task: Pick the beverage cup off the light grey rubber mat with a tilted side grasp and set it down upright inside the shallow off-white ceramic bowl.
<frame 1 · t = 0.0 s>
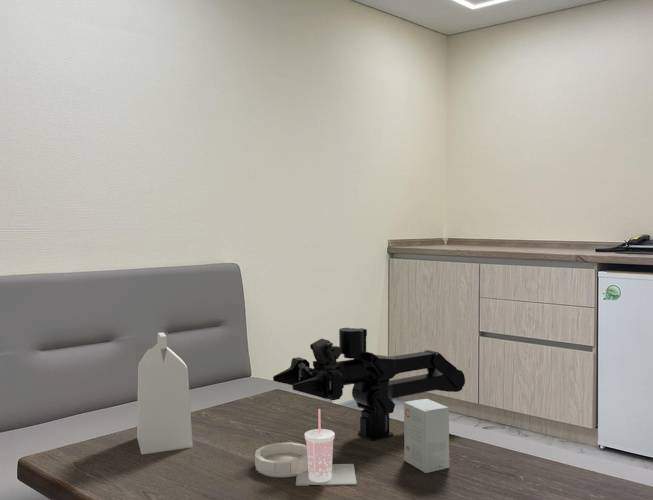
hand: (282, 382, 135), 17 cm above the table, tool horizontal, fingers open, 9 cm apart
mat: (325, 475, 125), on the table
small box: (426, 465, 130), on the table
beverage cup: (320, 478, 123), resting on mat
milk: (164, 443, 146), on the table
bowl: (283, 466, 130), on the table
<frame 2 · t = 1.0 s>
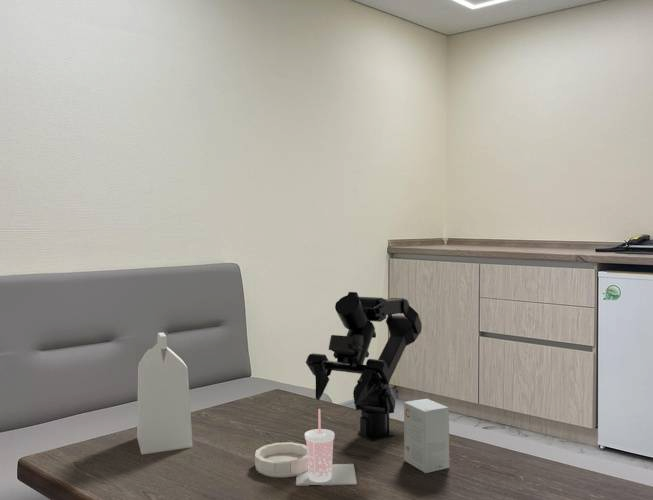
hand: (335, 401, 130), 14 cm above the table, tool tilted 45°, fingers open, 9 cm apart
nothing on the table moved.
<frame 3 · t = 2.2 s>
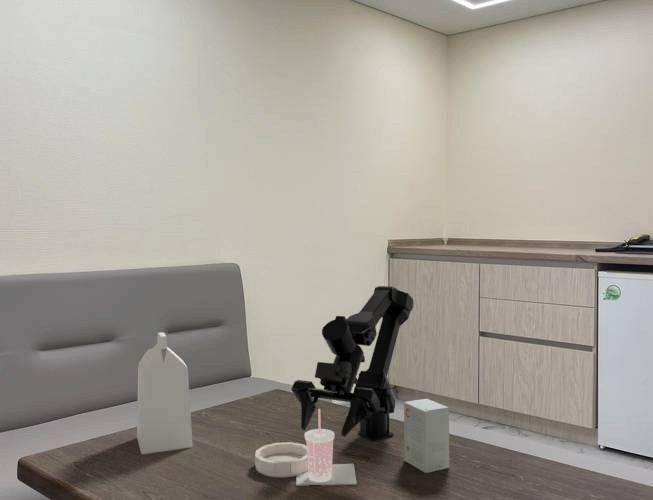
hand: (322, 432, 124), 9 cm above the table, tool tilted 45°, fingers open, 9 cm apart
nothing on the table moved.
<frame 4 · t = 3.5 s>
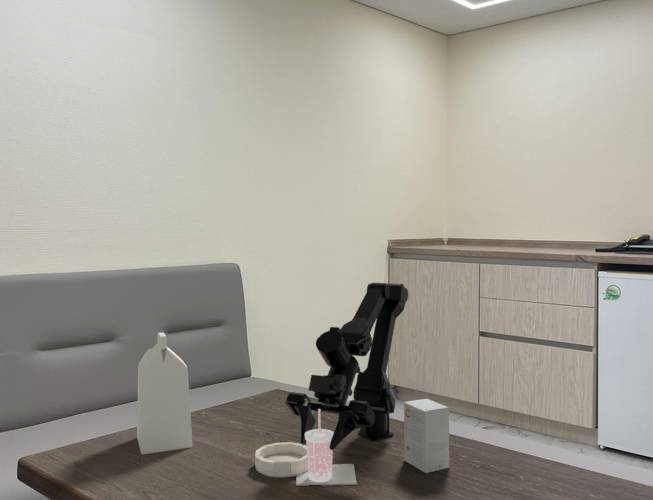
hand: (316, 446, 122), 7 cm above the table, tool tilted 45°, fingers closed on beverage cup, 6 cm apart
beverage cup: (320, 478, 123), resting on mat, touching gripper
everything else where it was.
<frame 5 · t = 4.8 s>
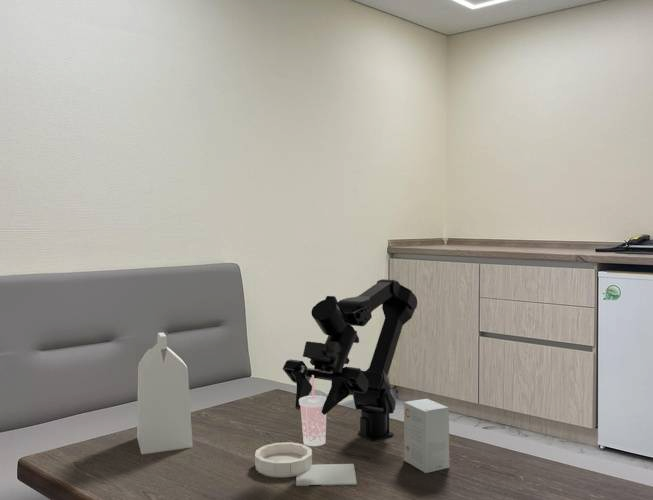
hand: (309, 411, 125), 13 cm above the table, tool tilted 45°, fingers closed on beverage cup, 6 cm apart
beverage cup: (314, 443, 126), point 6 cm above the table, touching gripper
everything else where it was.
when the fingers open (9 cm above the table, at t = 6.4 s): beverage cup drops 1 cm, resting on bowl.
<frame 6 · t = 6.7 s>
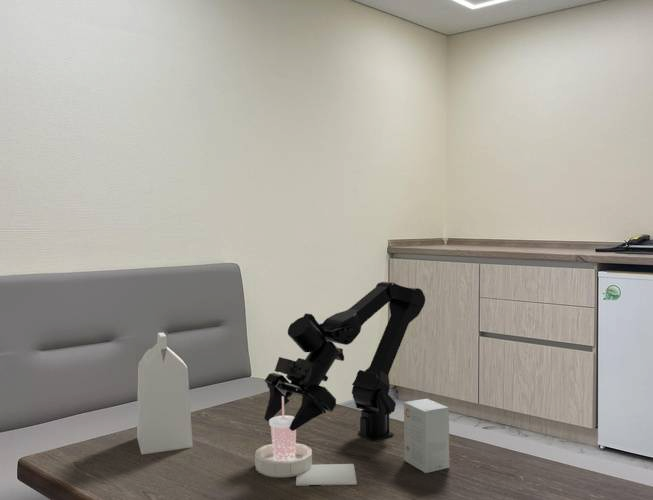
hand: (278, 424, 129), 9 cm above the table, tool tilted 45°, fingers open, 8 cm apart
beverage cup: (284, 462, 130), point 1 cm above the table, touching bowl
everything else where it was.
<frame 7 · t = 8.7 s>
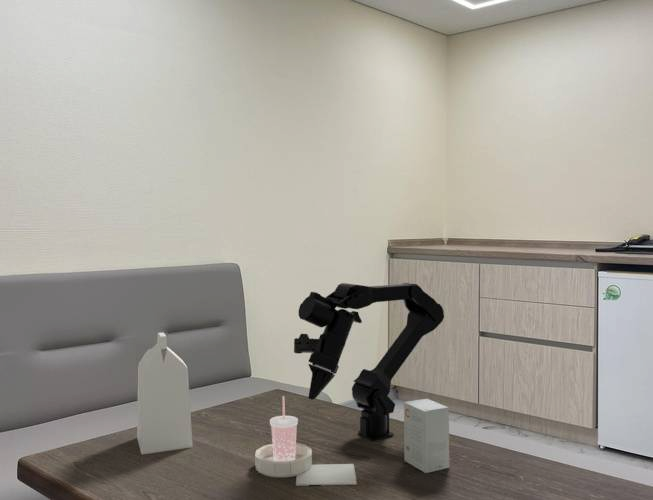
hand: (311, 398, 139), 12 cm above the table, tool tilted 25°, fingers open, 9 cm apart
nothing on the table moved.
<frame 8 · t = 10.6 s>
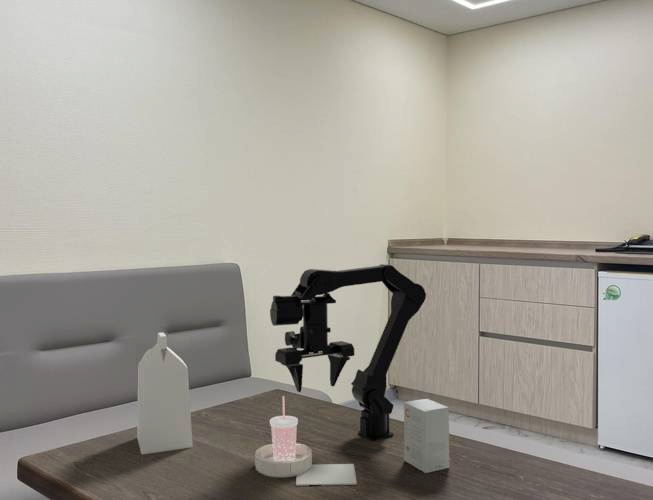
hand: (316, 388, 143), 13 cm above the table, tool pointing down, fingers open, 9 cm apart
nothing on the table moved.
at the end: beverage cup 0.2 cm from the bowl (horizontally); beverage cup tilted 0°; beverage cup point 0.8 cm above the table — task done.
